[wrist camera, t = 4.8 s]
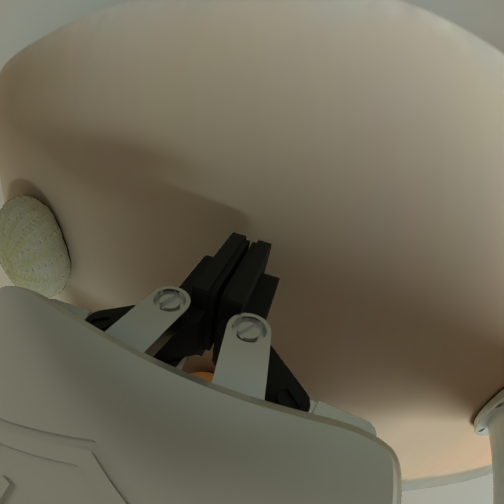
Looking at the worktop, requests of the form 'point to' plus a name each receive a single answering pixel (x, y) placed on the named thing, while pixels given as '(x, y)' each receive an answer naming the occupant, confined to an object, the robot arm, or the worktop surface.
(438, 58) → the worktop surface
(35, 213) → the sea urchin shell
